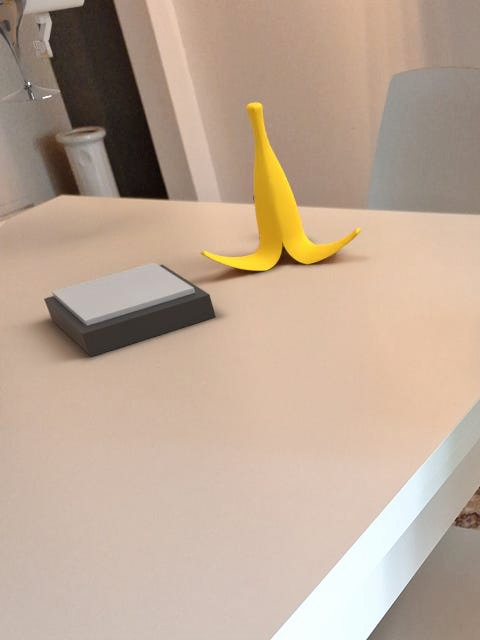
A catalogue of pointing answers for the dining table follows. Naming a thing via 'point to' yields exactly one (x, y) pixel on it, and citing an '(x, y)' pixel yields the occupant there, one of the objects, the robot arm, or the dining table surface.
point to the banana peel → (276, 212)
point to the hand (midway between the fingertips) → (19, 62)
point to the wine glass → (5, 20)
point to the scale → (128, 307)
